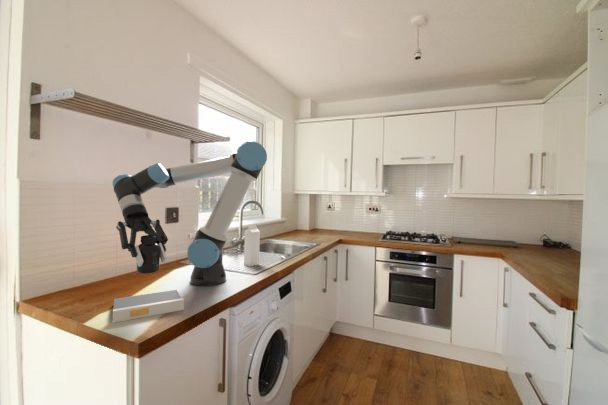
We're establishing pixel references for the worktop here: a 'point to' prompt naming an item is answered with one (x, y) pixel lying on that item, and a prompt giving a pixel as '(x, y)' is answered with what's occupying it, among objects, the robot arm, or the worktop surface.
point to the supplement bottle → (149, 254)
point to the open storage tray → (146, 305)
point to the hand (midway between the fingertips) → (153, 262)
